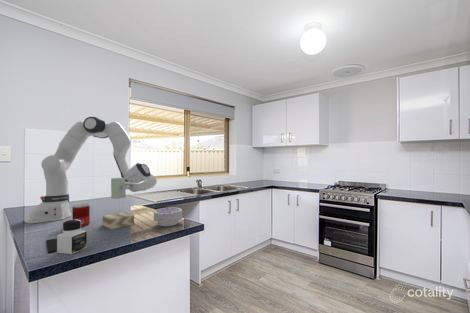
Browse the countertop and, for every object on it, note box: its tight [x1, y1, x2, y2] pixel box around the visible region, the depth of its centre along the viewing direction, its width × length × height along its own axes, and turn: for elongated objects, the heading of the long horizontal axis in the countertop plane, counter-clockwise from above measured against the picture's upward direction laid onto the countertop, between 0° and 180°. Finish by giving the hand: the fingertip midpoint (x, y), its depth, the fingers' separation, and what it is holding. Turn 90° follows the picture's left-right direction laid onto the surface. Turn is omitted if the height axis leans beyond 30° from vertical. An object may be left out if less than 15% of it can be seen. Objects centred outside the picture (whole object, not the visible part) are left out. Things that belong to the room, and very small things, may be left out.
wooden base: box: [102, 211, 135, 230], centre depth 131 cm, size 12×12×5 cm
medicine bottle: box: [56, 219, 88, 255], centre depth 95 cm, size 7×7×12 cm
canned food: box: [71, 203, 91, 228], centre depth 131 cm, size 8×8×11 cm
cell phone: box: [46, 237, 57, 254], centre depth 102 cm, size 9×18×1 cm, turn 40°
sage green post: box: [110, 177, 126, 200], centre depth 131 cm, size 5×5×11 cm
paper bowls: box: [153, 206, 183, 227], centre depth 132 cm, size 15×15×8 cm
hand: (117, 187), depth 130 cm, fingers closed on sage green post, 5 cm apart
